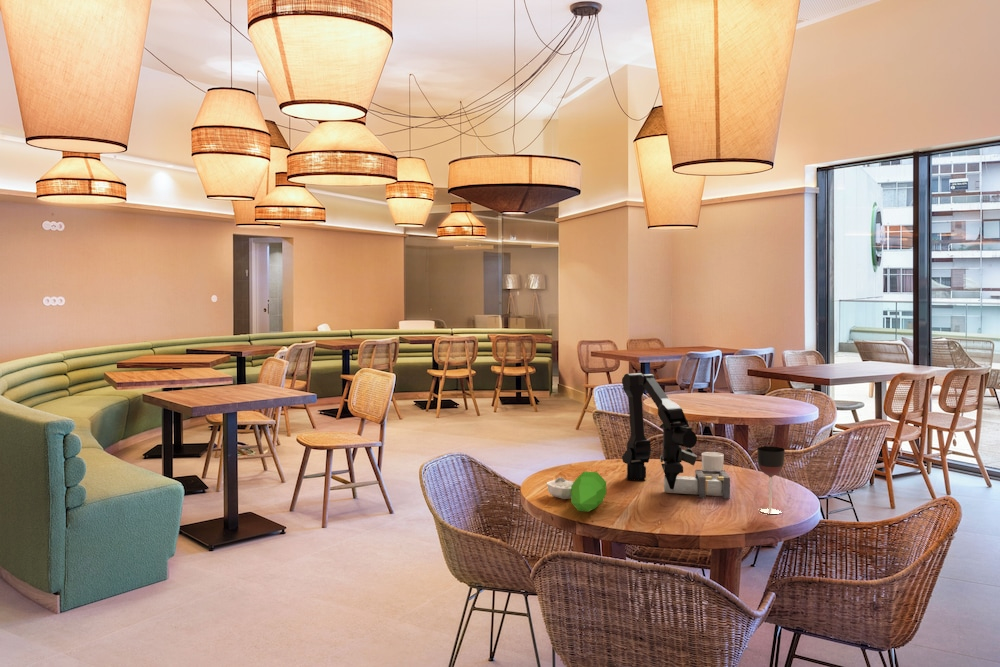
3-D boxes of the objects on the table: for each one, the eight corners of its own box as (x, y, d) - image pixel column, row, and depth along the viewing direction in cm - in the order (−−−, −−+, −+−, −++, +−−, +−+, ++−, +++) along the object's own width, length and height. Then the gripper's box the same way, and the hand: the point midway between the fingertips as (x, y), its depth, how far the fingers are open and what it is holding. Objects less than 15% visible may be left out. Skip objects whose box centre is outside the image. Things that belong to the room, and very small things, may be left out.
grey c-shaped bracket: (699, 498, 249) (699, 476, 248) (695, 489, 259) (695, 469, 259) (729, 498, 247) (730, 477, 247) (724, 490, 258) (724, 470, 258)
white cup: (726, 483, 268) (726, 456, 267) (704, 483, 268) (704, 456, 267) (720, 478, 276) (720, 451, 275) (699, 478, 276) (699, 451, 275)
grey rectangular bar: (664, 492, 253) (665, 478, 253) (663, 489, 258) (664, 475, 257) (724, 496, 250) (725, 481, 250) (722, 493, 255) (723, 478, 255)
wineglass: (788, 511, 233) (789, 448, 232) (777, 517, 227) (777, 453, 226) (763, 506, 238) (764, 445, 237) (752, 512, 232) (752, 449, 231)
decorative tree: (602, 462, 249) (590, 480, 220) (615, 494, 248) (604, 516, 219) (571, 473, 252) (555, 492, 223) (584, 504, 251) (569, 528, 222)
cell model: (554, 504, 243) (554, 483, 243) (542, 494, 254) (542, 475, 254) (583, 501, 246) (583, 481, 245) (570, 492, 257) (570, 473, 257)
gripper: (698, 448, 244) (698, 495, 245) (692, 438, 262) (691, 481, 263) (664, 448, 245) (664, 494, 246) (660, 437, 264) (660, 480, 265)
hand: (671, 487), depth 255 cm, fingers closed on grey rectangular bar, 4 cm apart
